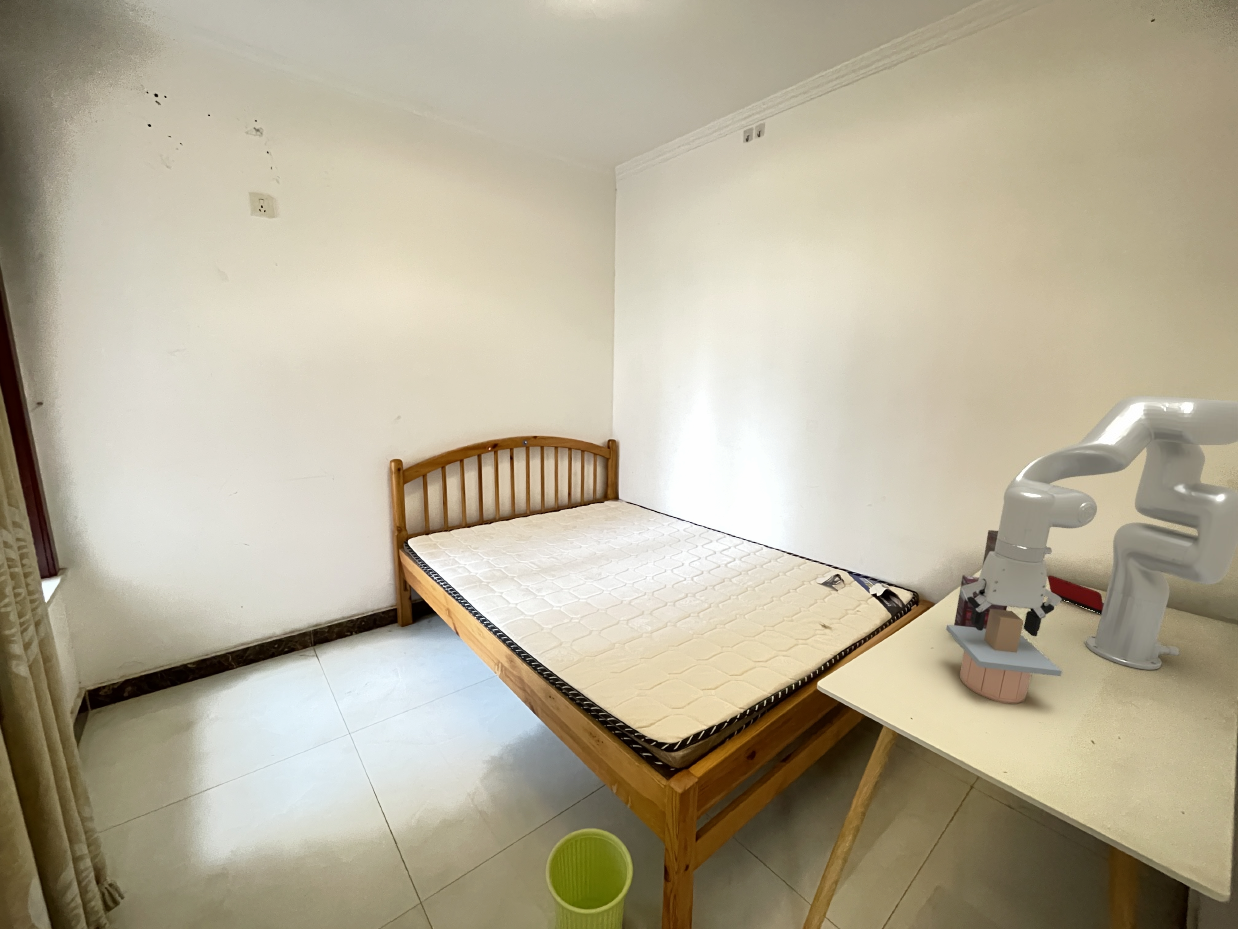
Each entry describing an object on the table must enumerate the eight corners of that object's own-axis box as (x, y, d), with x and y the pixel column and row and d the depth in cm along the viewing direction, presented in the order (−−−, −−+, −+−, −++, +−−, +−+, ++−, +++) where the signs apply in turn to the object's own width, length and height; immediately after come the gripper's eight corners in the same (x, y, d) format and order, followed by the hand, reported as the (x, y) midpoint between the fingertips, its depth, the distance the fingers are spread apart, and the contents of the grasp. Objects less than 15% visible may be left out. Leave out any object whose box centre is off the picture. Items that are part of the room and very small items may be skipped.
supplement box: (991, 640, 121) (1004, 579, 118) (999, 651, 117) (1012, 588, 114) (950, 633, 124) (961, 574, 121) (956, 643, 120) (968, 582, 116)
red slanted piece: (1118, 612, 138) (1124, 587, 136) (1094, 618, 134) (1100, 593, 133) (1065, 592, 149) (1070, 569, 148) (1041, 597, 146) (1047, 574, 144)
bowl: (1006, 673, 108) (1013, 640, 107) (1037, 707, 98) (1046, 670, 96) (950, 666, 110) (956, 634, 109) (975, 699, 100) (982, 663, 98)
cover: (1016, 637, 108) (1024, 602, 106) (1060, 676, 94) (1069, 637, 93) (946, 629, 110) (952, 595, 109) (978, 667, 97) (986, 628, 95)
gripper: (1056, 547, 100) (1039, 625, 104) (961, 540, 103) (947, 616, 106) (1083, 562, 93) (1063, 645, 96) (980, 553, 96) (965, 634, 99)
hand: (1003, 630), depth 101 cm, fingers open, 9 cm apart
